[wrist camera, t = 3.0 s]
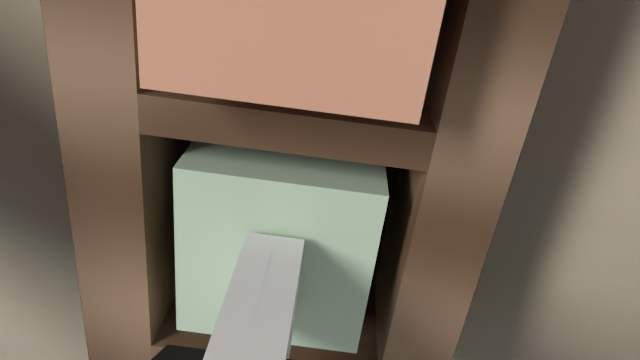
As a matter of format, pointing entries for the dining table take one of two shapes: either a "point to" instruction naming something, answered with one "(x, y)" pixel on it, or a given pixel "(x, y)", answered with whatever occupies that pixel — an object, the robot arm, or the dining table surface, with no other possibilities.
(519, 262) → the dining table surface
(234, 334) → the robot arm
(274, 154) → the key sage
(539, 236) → the dining table surface
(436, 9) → the key terracotta
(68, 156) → the wooden compartment tray
